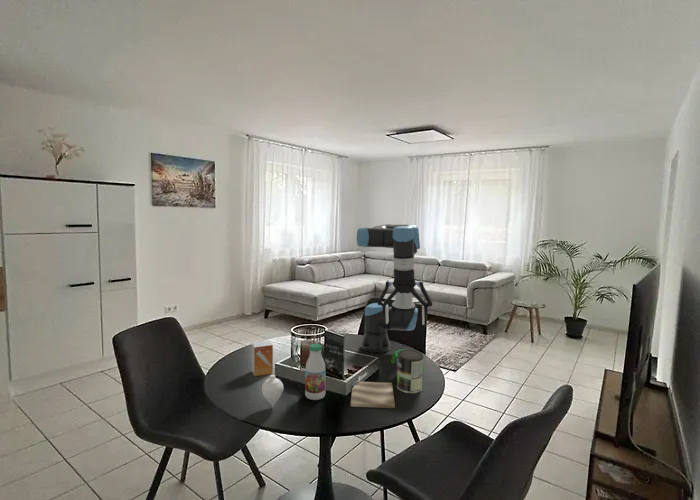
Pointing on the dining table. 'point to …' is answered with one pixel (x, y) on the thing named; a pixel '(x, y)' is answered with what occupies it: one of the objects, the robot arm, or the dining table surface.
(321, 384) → the milk bottle
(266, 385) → the spinning top
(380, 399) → the ash board
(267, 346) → the small box
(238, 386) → the dining table surface
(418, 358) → the coffee can
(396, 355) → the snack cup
